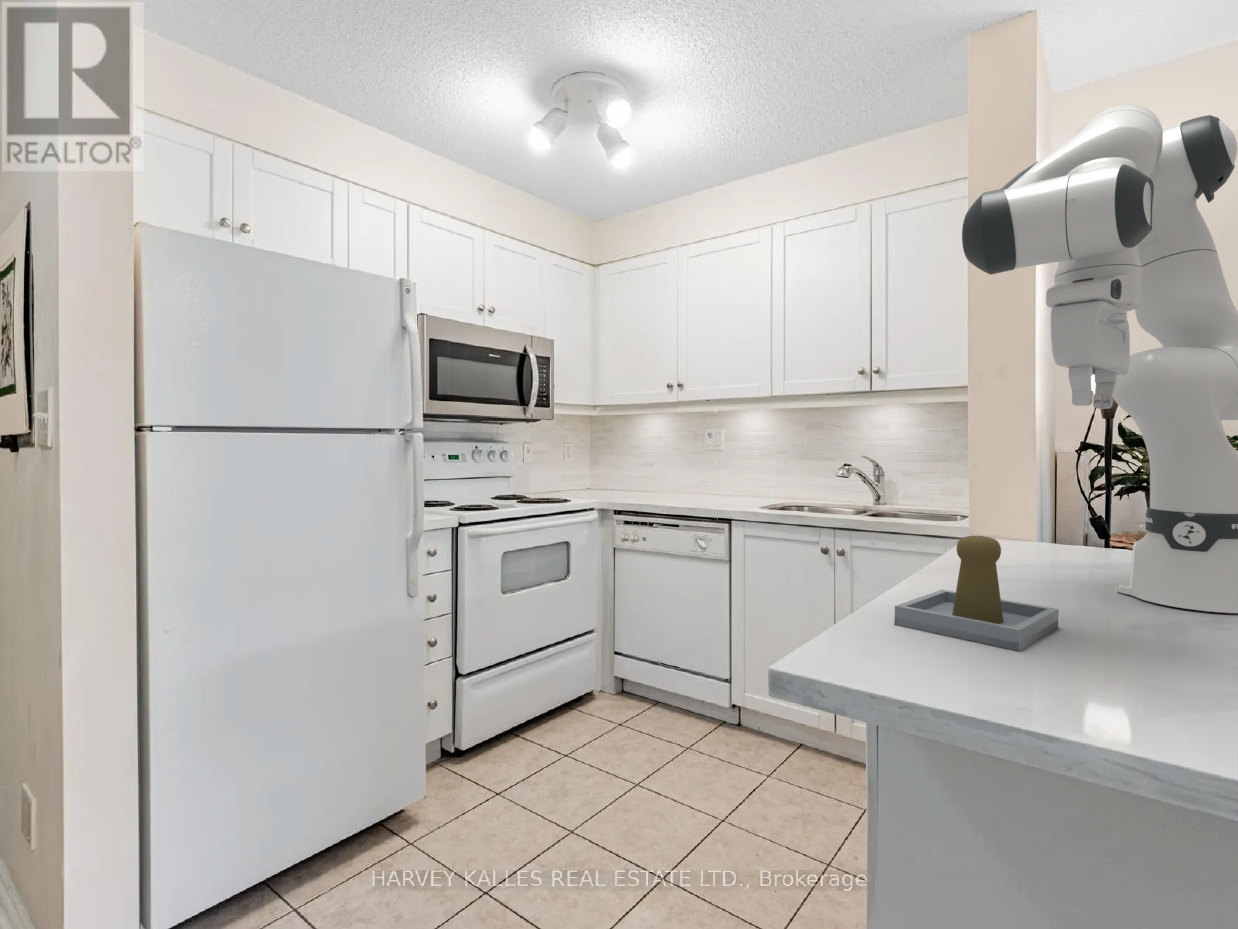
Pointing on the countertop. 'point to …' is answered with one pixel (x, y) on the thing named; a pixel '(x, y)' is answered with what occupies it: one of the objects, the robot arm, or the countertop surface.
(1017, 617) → the slate grey tray
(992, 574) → the cork
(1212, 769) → the countertop surface
